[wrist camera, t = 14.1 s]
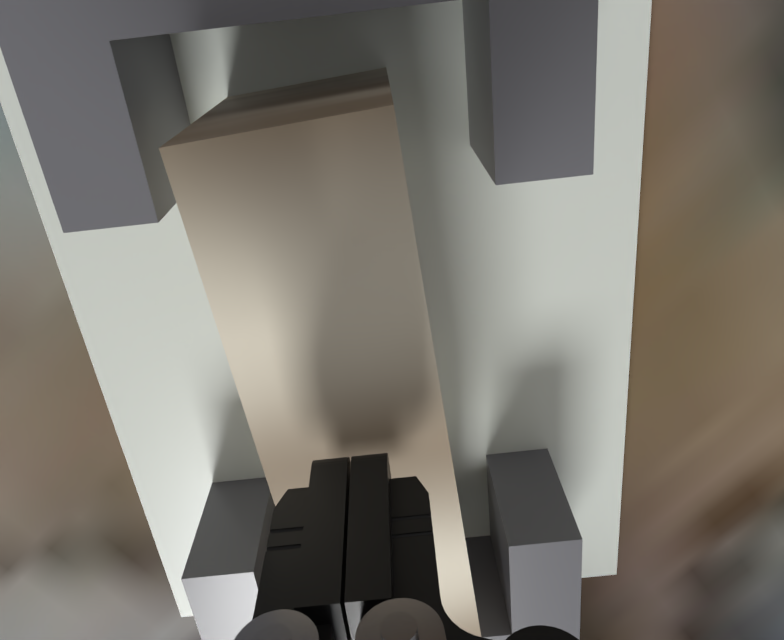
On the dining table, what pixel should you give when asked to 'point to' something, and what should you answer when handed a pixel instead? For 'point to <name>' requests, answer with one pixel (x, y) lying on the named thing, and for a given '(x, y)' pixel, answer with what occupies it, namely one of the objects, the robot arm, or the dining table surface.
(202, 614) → the cradle
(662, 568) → the dining table surface
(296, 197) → the slat
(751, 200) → the dining table surface
